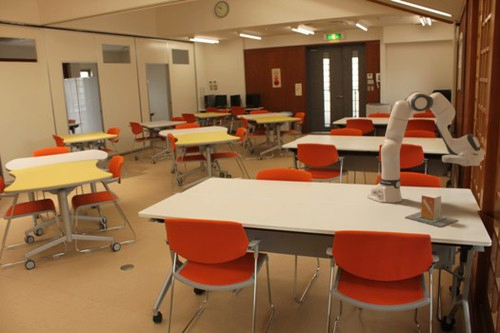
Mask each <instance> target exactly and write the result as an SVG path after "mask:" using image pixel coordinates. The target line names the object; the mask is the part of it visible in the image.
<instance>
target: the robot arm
mask: <svg viewBox="0 0 500 333" xmlns="http://www.w3.org/2000/svg"><path fill="white" fill-rule="evenodd" d="M427 110H430V111H431V113H432V114H433V115H434V117H435V119H436V122H435V126H436V129H437V131H438V133H439V136H440V137H441V139H442V140H443V142H444V145H445V148H446V150H447V153H448V154H445V155H442V156H441V161H442V162H443V163H448V164H449V163H450V164H458V165H460V166H462V167H469V166H470V167H471V166H474V167H478V166H480V164H481V162H482V161H483V160H485V158H484V155H485V154H486V151H485V150H484V149H483V148H482V147H481V142H480V140H479V138H478V137H477V136H476V135H475V134H472V133H469V134H466V135H464V136H463V135H462V136H461V137H458V138H456V139H454V138H453V137H452V135H451V133H450V130H449V129H448V126H449V125H450V124H451V123H452V121H453V120H454V119H455V116H456V109H455V108H454V106H453V105H452V103H451V102H450V101H449V100H448V99H447V98H446V97H445V96H444V95H443V94H442V93H441V92H434V93H431V95H427V94H425V93H424V92H421V91H414V92H411V93H410V94H409V95H408V96H407V97H406V98H405V99H404V100H398V101H396V102H395V103H394V105H393V106H392V109H391V112H390V115H389V120H388V123H387V126H386V131H385V136H384V140H383V143H382V144H381V148H380V158H381V159H380V161H381V177H380V178H378V180H377V181H378V184H376V185H374V186H373V187H371V191H370V194H368V195H367V196H366V198H367V199H370V200H373V201H375V202H378V203H399V202H402V201H403V198H402V197H403V196H402V193H401V177H400V176H401V162H400V161H401V159H400V158H401V157H400V156H401V153H400V152H401V148H402V144H403V140H404V138H405V134H406V133H405V132H406V130H407V126H408V122H409V119H410V115H411V113H413V111H415V112H419V113H420V112H424V111H427ZM485 156H486V155H485Z"/></svg>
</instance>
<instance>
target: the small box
mask: <svg viewBox="0 0 500 333" xmlns="http://www.w3.org/2000/svg"><path fill="white" fill-rule="evenodd" d="M420 205H421V206H420V212H421V218H425V219H429V220H432V221H435V220H437V219H440V216H442V215H441V210H442V208H441V207H442V195H438V194H433V193H423V194H422V195H421V204H420Z"/></svg>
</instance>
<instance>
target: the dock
mask: <svg viewBox="0 0 500 333" xmlns="http://www.w3.org/2000/svg"><path fill="white" fill-rule="evenodd" d="M404 219H407V220H410V221H414V222H418V223H422V224H426V225H429V226H434V227H436V226H437V227H436V228H440V227H441V228H444V227H446V226H449V225H451V224H454V223H456V222H459V219H455V218H452V217H449V216H443V215H440V219H437V220H435V221H432V220H429V219H425V218H421V211H419V212H415V213H412V214H410V215H407V216H405V217H404Z"/></svg>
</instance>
